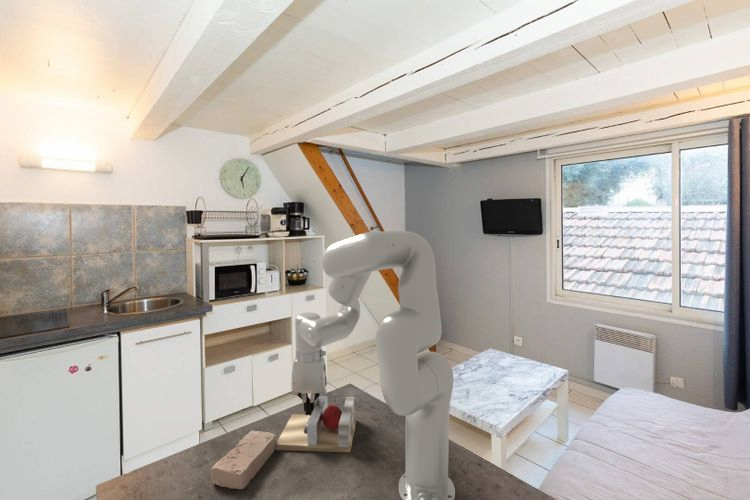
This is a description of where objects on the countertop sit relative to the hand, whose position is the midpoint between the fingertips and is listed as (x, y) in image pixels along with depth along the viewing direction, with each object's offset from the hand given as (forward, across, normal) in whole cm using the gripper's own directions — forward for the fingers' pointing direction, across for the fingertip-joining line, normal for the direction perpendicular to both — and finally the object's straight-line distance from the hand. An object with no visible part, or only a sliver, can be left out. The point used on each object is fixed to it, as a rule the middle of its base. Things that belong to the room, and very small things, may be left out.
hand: (309, 412), depth 107 cm
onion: (+1, -8, +6) cm, 11 cm away
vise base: (+3, -4, +6) cm, 8 cm away
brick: (+3, +11, +20) cm, 23 cm away
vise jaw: (+1, -3, +6) cm, 7 cm away
